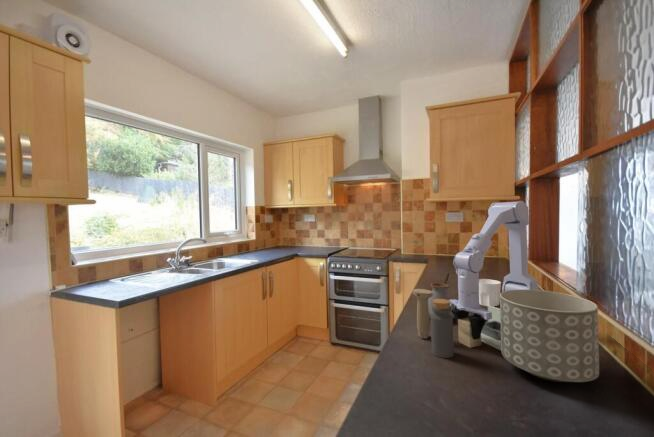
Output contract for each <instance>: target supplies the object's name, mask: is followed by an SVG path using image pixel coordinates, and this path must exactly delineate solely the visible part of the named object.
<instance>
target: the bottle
mask: <svg viewBox="0 0 654 437" xmlns="http://www.w3.org/2000/svg"><path fill="white" fill-rule="evenodd" d="M433 304H434V305H433V306H432V310H433V311H434V313H433V314H432V315H431V319H430V329H431V330H430V331H431V332H430V333H431V334H430V337H431V339H430V340H431V353H432V354H433V355H434V356H436V357H438V358H443V359H450V358H452V357H454V354H455V353H454V352H455V351H454V348H455V347H454V346H455V345H454V318H453V317H452V316H451V315H449V313H450V312H451V307H450V301H449V300H446V299H434V300H433Z"/></svg>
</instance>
